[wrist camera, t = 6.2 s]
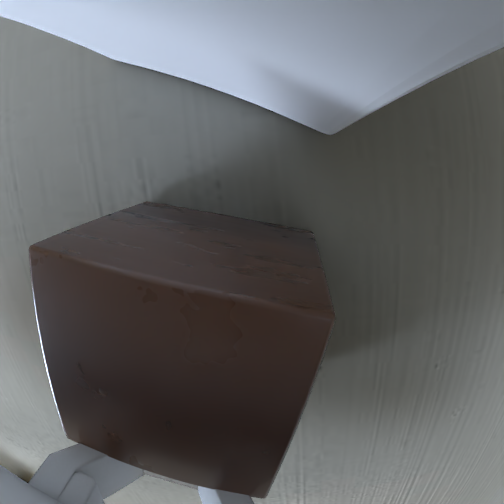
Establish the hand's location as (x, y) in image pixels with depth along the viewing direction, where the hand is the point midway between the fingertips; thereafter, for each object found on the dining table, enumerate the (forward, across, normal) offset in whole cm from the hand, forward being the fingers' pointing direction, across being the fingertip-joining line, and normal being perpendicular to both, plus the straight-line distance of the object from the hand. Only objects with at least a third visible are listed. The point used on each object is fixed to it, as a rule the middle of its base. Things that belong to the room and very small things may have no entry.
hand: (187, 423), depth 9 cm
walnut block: (+2, 0, -3) cm, 4 cm away
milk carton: (+2, 0, -13) cm, 13 cm away
